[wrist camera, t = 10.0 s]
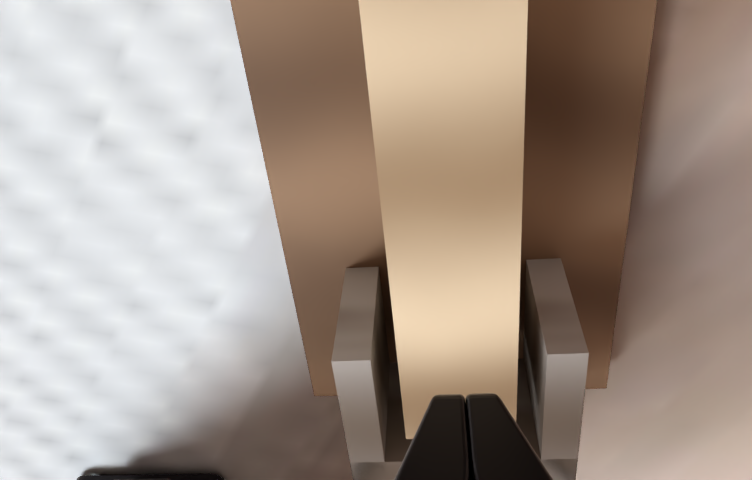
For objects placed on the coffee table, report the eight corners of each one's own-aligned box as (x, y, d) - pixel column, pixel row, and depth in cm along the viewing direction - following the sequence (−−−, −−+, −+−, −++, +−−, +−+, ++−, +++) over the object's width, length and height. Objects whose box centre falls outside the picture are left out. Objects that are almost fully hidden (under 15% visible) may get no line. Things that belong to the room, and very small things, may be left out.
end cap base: (600, 367, 23) (638, 491, 19) (317, 375, 24) (297, 495, 20) (703, -494, 12) (854, -645, 8) (158, -411, 13) (33, -503, 9)
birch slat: (501, 337, 22) (516, 436, 18) (408, 340, 22) (405, 438, 19) (506, -292, 13) (537, -319, 9) (350, -272, 13) (326, -292, 10)
